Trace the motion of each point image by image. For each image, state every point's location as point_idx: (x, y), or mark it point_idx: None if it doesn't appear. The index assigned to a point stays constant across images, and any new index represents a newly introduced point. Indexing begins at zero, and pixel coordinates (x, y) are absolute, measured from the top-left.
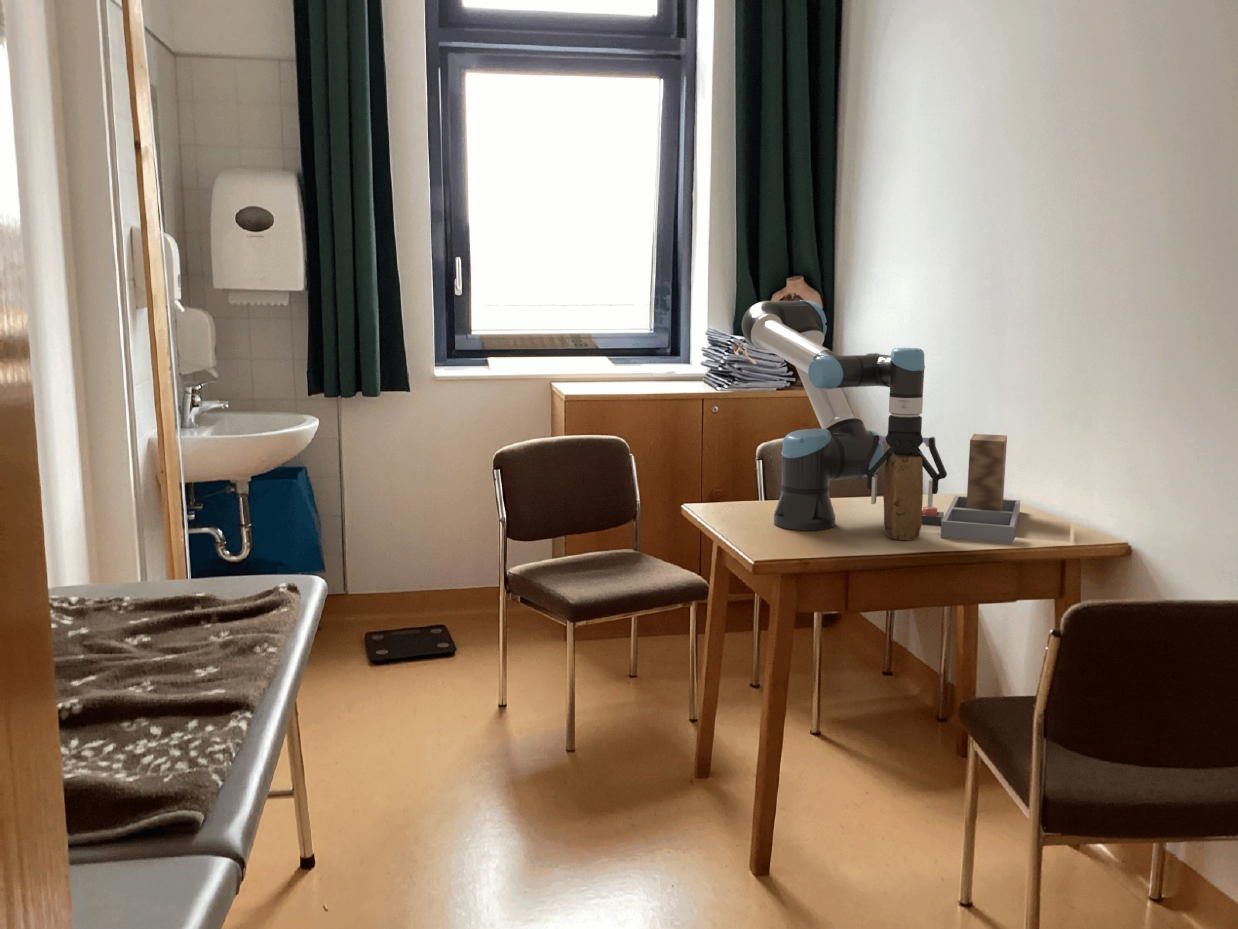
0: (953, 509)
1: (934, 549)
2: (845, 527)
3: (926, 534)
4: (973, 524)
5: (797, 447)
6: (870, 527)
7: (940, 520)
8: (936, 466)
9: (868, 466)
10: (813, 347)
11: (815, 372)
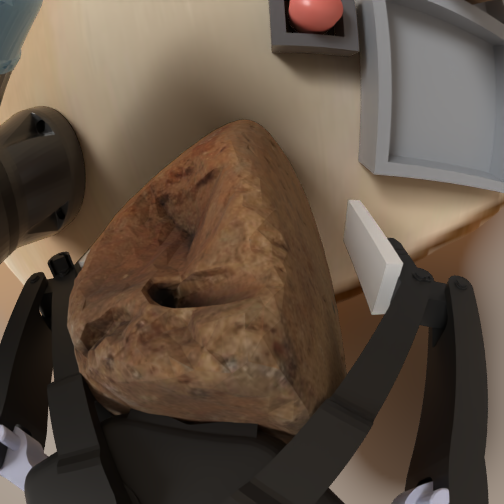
0: None
1: (343, 273)
2: (103, 149)
3: (318, 131)
4: (449, 182)
5: None
6: (152, 114)
7: (354, 52)
8: (427, 372)
9: (38, 291)
10: None
11: None
